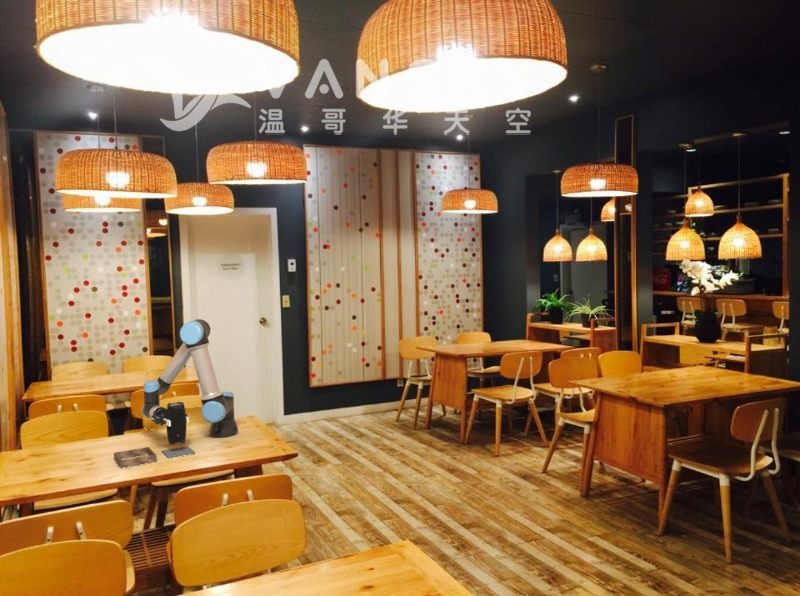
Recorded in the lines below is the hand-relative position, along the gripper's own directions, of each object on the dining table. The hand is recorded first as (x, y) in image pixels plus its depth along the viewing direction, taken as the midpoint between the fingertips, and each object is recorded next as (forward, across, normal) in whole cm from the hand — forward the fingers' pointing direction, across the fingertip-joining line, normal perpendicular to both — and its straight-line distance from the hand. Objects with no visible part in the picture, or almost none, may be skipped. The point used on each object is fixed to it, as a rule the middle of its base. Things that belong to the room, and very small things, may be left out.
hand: (179, 421), depth 313 cm
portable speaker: (-3, 0, -11) cm, 12 cm away
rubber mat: (-3, 0, -16) cm, 17 cm away
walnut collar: (-6, +19, -16) cm, 26 cm away
